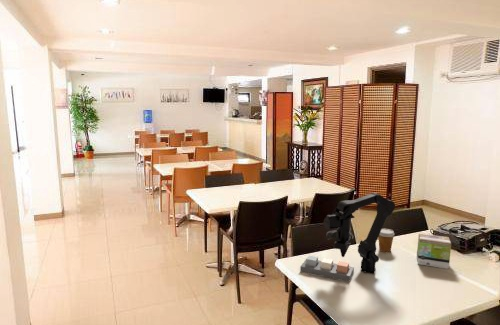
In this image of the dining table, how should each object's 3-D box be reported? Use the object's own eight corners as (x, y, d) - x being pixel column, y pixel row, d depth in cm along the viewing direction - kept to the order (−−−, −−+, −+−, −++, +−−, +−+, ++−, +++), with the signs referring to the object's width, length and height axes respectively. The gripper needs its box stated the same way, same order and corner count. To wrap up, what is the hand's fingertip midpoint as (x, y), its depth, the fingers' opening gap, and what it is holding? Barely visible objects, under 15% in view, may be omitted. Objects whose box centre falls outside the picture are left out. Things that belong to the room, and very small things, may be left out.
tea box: (417, 265, 189) (419, 238, 186) (416, 257, 198) (418, 232, 196) (449, 269, 183) (451, 242, 181) (446, 262, 192) (448, 236, 190)
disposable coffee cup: (396, 253, 204) (397, 233, 202) (379, 253, 204) (380, 233, 202) (389, 247, 213) (391, 228, 211) (374, 247, 213) (375, 228, 212)
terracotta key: (348, 272, 178) (349, 262, 177) (346, 276, 174) (347, 266, 173) (338, 270, 180) (339, 261, 179) (336, 274, 176) (336, 264, 175)
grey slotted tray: (353, 272, 180) (353, 267, 179) (349, 282, 170) (349, 276, 170) (306, 263, 191) (306, 258, 190) (300, 271, 181) (300, 266, 181)
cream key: (332, 269, 181) (333, 259, 181) (330, 273, 177) (330, 263, 176) (323, 267, 184) (323, 258, 183) (320, 271, 179) (321, 261, 178)
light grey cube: (317, 266, 185) (318, 257, 184) (315, 269, 181) (315, 260, 180) (308, 264, 187) (308, 255, 186) (305, 268, 183) (306, 258, 182)
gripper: (332, 219, 185) (331, 247, 187) (323, 230, 168) (322, 260, 171) (354, 222, 180) (352, 251, 182) (346, 233, 164) (345, 265, 166)
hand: (342, 256), depth 175 cm, fingers closed
